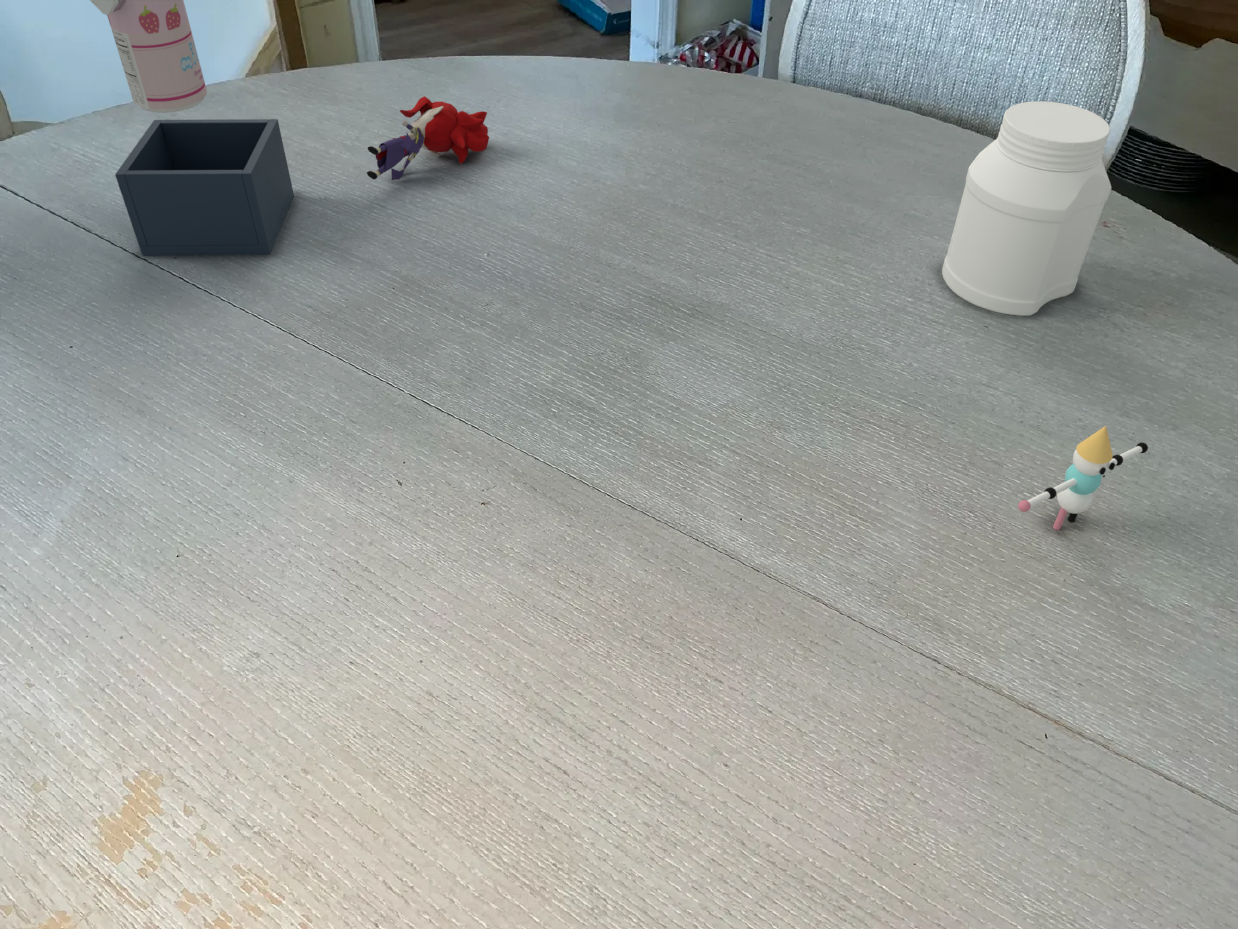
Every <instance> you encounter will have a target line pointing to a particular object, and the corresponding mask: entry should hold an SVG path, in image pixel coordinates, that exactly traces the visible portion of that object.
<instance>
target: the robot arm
mask: <svg viewBox="0 0 1238 929" xmlns="http://www.w3.org/2000/svg"><path fill="white" fill-rule="evenodd" d="M89 1H90V2H91V4H93V5H94V6H95V7H96V8H97V10H99V12H101V13H102V14H103V15H105V16H107V15H108V14H111V13H113V12H115V11H117V10H119V9H120V8H121V7H122V6H123V4H124V3H125V1H126V0H89Z"/></svg>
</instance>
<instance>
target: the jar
mask: <svg viewBox="0 0 1238 929" xmlns="http://www.w3.org/2000/svg"><path fill="white" fill-rule="evenodd" d="M1110 133H1111V128H1110V125H1109V124H1108V122H1107V120H1105V119H1104V118H1103V117H1102V116H1100V115H1098V114H1096V113H1094V112H1092V111H1090V110H1088V109H1086V108H1082V107H1080V106H1075V105H1072V104H1067V103H1062V102H1056V101H1055V102H1054V101H1046V100H1045V101H1044V100H1043V101H1042V100H1041V101H1034V100H1033V101H1025V102H1020V103H1016V104H1013V105H1012V106H1010V107H1008V108H1007V109H1006V111H1005V112H1004V113H1003V118H1002V122H1001V125H1000V128H999V132H998V135H997V137H996V138H995V140H993V141H992V142H991V143H989V144H988V145H987V146H986V147H985V148H983V149H982V150H981V151H980V152H979V153H978V154H977V155H976V157H975V158H974V159H973V161H972V162H971V164H970V165H969V166H968V169H967V173H966V177H965V184H964V188H963V193H962V196H961V200H960V204H959V208H958V211H957V215H956V220H955V223H954V227H953V230H952V235H951V238H950V242H949V245H948V249H947V253H946V255H945V257H944V261H943V264H942V268H941V275H942V278H943V280H944V282H945V284H946V285H947V287H948V288H949V289H950V290H951V291H952V292H953V293H954V294H956V295H957V296H958V297H960V298H961V299H963V300H965V301H966V302H968V303H970V304H971V305H974V306H976V307H979V308H982V309H984V310H987V311H990V312H994V313H998V314H1004V315H1010V316H1020V317H1021V316H1022V317H1023V316H1024V317H1030V316H1033V315H1034V314H1036V313H1038V312H1039V309H1040V308H1042V306H1044V305H1046V304H1047V303H1049V302H1051V301H1053V300H1056V299H1059V298H1064V297H1067V296H1069V295H1072V294H1073V292H1075V289H1076V286H1077V283H1078V280H1079V275H1080V272H1081V269H1082V267H1083V264H1084V261H1085V258H1086V256H1087V253H1088V250H1089V248H1090V245H1091V243H1092V240H1093V237H1094V234H1095V232H1096V229H1097V226H1098V223H1099V221H1100V218H1101V215H1102V212H1103V210H1104V207H1105V204H1106V202H1107V201H1108V200H1109V196H1110V193H1111V191H1112V184H1111V181H1110V179H1109V176H1108V173H1107V170H1106V168H1105V164H1104V162H1103V153H1104V151H1105V148H1106V147H1105V146H1106V145H1107V143H1108V139H1109V136H1110Z"/></svg>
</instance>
